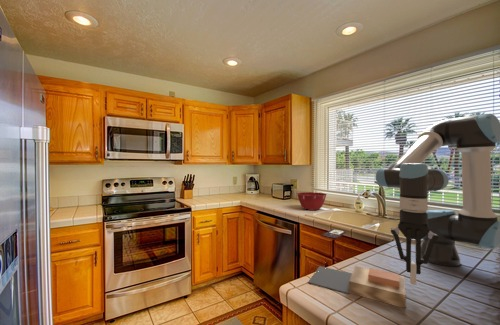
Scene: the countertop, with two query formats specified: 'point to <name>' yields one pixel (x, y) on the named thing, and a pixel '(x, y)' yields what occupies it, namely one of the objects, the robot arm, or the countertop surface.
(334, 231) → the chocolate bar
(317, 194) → the mixing bowl
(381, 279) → the tile
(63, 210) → the countertop surface
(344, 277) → the mat
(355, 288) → the board
